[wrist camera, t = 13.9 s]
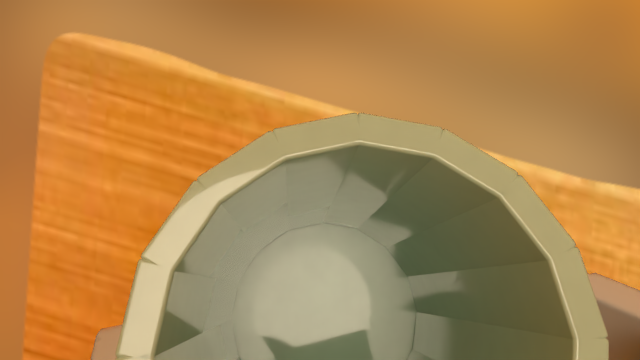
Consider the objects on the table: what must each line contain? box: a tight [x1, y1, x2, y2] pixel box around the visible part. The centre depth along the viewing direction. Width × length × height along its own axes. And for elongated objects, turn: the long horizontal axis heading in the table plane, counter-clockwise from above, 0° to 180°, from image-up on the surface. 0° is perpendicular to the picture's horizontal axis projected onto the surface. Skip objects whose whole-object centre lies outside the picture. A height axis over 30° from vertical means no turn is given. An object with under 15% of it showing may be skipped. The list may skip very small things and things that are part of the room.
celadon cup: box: [115, 113, 609, 360], centre depth 11 cm, size 6×6×9 cm
